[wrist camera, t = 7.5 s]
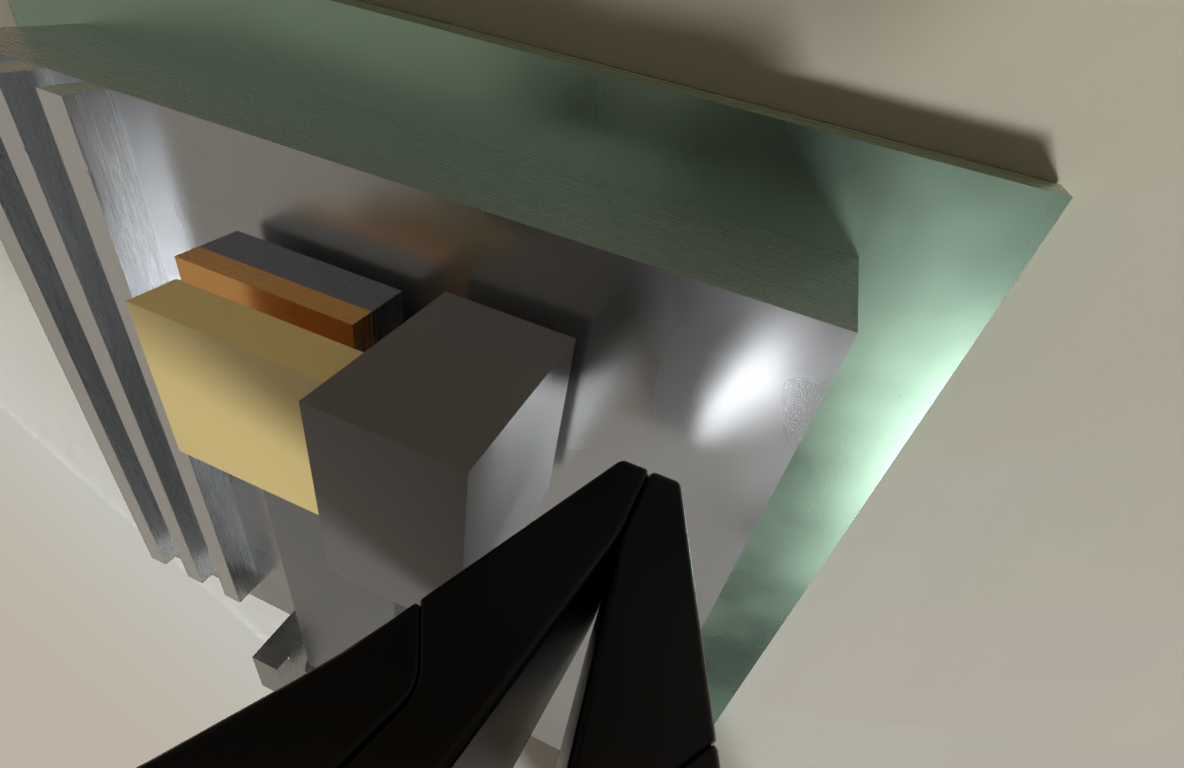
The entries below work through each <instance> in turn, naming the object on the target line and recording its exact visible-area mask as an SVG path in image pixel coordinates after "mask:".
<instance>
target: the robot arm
mask: <svg viewBox="0 0 1184 768" xmlns="http://www.w3.org/2000/svg"><path fill="white" fill-rule="evenodd" d="M597 611H598V613H597ZM596 614H597V616H596ZM595 616H596V619H595V622H594V625H593V629H592V632H591V636H590V639H589V642H588V646H587V650H586V654H585V658H584V661H583V665H582V669H581V673H580V677H579V680H578V684H577V688H576V692H575V695H574V699H573V703H572V707H571V711H570V714H569V718H568V722H567V726H566V730H565V733H564V737H563V741H562V745H561V748H560V752H559V756H558V760H557V764H556V767H555V768H720V763H719V756H718V750H717V748H716V747H715V746H713V744H714V743H715V741H716V737H715V730H714V722H713V715H712V708H711V700H710V693H709V686H708V679H707V671H706V664H705V657H704V650H703V642H702V635H701V628H700V620H699V613H698V606H697V599H696V591H695V584H694V577H693V570H692V562H691V555H690V548H689V541H688V533H687V526H686V519H685V511H684V504H683V497H682V490H681V486H680V484H679V482H677V481H675V480H673V479H670V478H668V477H665V476H663V475H660V474H658V473H652V474H650V476H649V472H648V470H647V469H645V468H643V467H640V466H637V465H635V464H632V463H630V462H627V461H619V462H617V463H616V464H614V465H613V466H612V467H610V468H609V469H607V470H606V471H604V472H603V473H602V474H600V475H599V476H597V477H596V478H594V479H593V480H591V481H590V482H589V483H587V484H586V485H584V486H583V487H581V488H580V489H579V490H577V491H576V492H574V493H573V494H571V495H570V496H568V497H567V498H566V499H564V500H563V501H561V502H560V503H558V504H557V505H556V506H554V507H553V508H551V509H550V510H548V511H547V512H546V513H544V514H543V515H541V516H540V517H538V518H537V519H535V520H534V521H533V522H531V523H530V524H528V525H527V526H525V527H524V528H523V529H521V530H520V531H518V532H517V533H515V534H514V535H513V536H511V537H510V538H508V539H507V540H505V541H504V542H502V543H501V544H500V545H498V546H497V547H495V548H494V549H492V550H491V551H490V552H488V553H487V554H485V555H484V556H482V557H481V558H480V559H478V560H477V561H475V562H474V563H472V564H471V565H469V566H468V567H467V568H465V569H464V570H462V571H461V572H459V573H458V574H457V575H455V576H454V577H452V578H451V579H449V580H448V581H446V582H445V583H444V584H442V585H441V586H439V587H438V588H436V589H435V590H434V591H432V592H431V593H429V594H428V595H426V596H425V597H424V598H422V599H421V601H420V606H419V604H413V605H411V606H410V607H409V608H407V609H406V610H404V611H403V612H401V613H400V614H399V615H397V616H396V617H394V618H393V619H391V620H390V621H389V622H387V623H386V624H384V625H383V626H381V627H380V628H378V629H377V630H375V631H374V632H372V633H371V634H369V635H367V636H366V637H364V638H363V639H361V640H360V641H358V642H357V643H355V644H354V645H352V646H351V647H349V648H348V649H346V650H345V651H343V652H342V653H340V654H338V655H336V656H335V657H333V658H331V659H330V660H328V661H326V662H324V663H323V664H321V665H319V666H318V667H316V668H314V669H312V670H311V671H309V672H307V673H306V674H304V675H302V676H300V677H299V678H297V679H295V680H294V681H292V682H290V683H288V684H287V685H285V686H283V687H281V688H279V689H278V690H276V691H274V692H272V693H270V694H269V695H267V696H265V697H263V698H261V699H260V700H258V701H257V702H254V703H253V704H251V705H249V706H247V707H245V708H243V709H242V710H240V711H238V712H236V713H234V714H233V715H231V716H229V717H227V718H226V719H224V720H222V721H220V722H218V723H216V724H215V725H213V726H211V727H209V728H207V729H206V730H204V731H202V732H200V733H198V734H197V735H195V736H193V737H191V738H189V739H188V740H186V741H184V742H182V743H180V744H179V745H177V746H175V747H173V748H171V749H170V750H168V751H166V752H164V753H162V754H161V755H159V756H157V757H155V758H153V759H152V760H150V761H148V762H146V763H144V764H142V765H140V766H139V767H137V768H513V766H514V765H515V763H516V761H517V759H518V757H519V756H520V754H521V752H522V750H523V748H524V747H525V745H526V743H527V741H528V739H529V738H530V736H531V734H532V732H533V730H534V729H535V727H536V725H537V723H538V721H539V720H540V718H541V716H542V714H543V712H544V711H545V709H546V707H547V705H548V703H549V702H550V700H551V698H552V696H553V694H554V693H555V691H556V689H557V687H558V685H559V684H560V682H561V680H562V678H563V676H564V674H565V673H566V671H567V669H568V667H569V665H570V664H571V662H572V660H573V658H574V656H575V655H576V653H577V651H578V649H579V647H580V646H581V644H582V642H583V640H584V638H585V636H586V635H587V633H588V631H589V629H590V627H591V625H592V623H593V621H594V618H595Z"/></svg>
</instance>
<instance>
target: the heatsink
mask: <svg viewBox="0 0 1184 768" xmlns="http://www.w3.org/2000/svg"><path fill="white" fill-rule="evenodd" d="M8 2H9V5H10V8H11V10H12V13H13V16H14V18H15V21H16V24H17V26H18V27H7V28H0V239H1V241H2V243H3V245H4V247H5V249H6V252H7V254H8V256H9V258H10V260H11V262H12V264H13V266H14V268H15V270H16V273H17V275H18V277H19V279H20V281H21V283H22V285H23V287H24V289H25V291H26V294H27V296H28V298H29V300H30V302H31V304H32V306H33V308H34V310H35V312H36V315H37V317H38V319H39V321H40V323H41V325H42V327H43V329H44V331H45V334H46V336H47V338H48V340H49V342H50V344H51V346H52V348H53V350H54V352H55V355H56V357H57V359H58V361H59V363H60V365H61V367H62V369H63V371H64V373H65V376H66V378H67V380H68V382H69V384H70V386H71V388H72V390H73V392H74V394H75V397H76V399H77V401H78V403H79V405H80V407H81V409H82V411H83V413H84V415H85V418H86V420H87V422H88V424H89V426H90V428H91V430H92V432H93V434H94V436H95V439H96V441H97V443H98V445H99V447H100V449H101V451H102V453H103V455H104V457H105V460H106V462H107V464H108V466H109V468H110V470H111V472H112V474H113V476H114V479H115V481H116V483H117V485H118V487H119V489H120V491H121V493H122V495H123V497H124V500H125V502H126V504H127V506H128V508H129V510H130V512H131V514H132V516H133V518H134V521H135V523H136V525H137V527H138V529H139V531H140V533H141V535H142V537H143V539H144V542H145V544H146V546H147V548H148V550H149V552H150V554H151V556H152V558H154V559H156V560H158V561H160V562H162V563H164V564H167V563H168V562H169V561H171V560H172V559H173V558H174V557H175V556H176V557H178V558H180V559H181V560H182V563H183V565H184V567H185V570H186V572H187V574H188V576H189V577H191V578H193V579H195V580H197V581H199V582H201V583H203V582H204V581H205V580H206V579H207V578H209V577H210V576H211V575H214V576H216V577H218V578H219V579H220V582H221V585H222V587H223V590H224V593H225V595H226V596H228V597H230V598H232V599H234V600H236V601H238V602H241V601H242V600H243V599H244V598H245V597H246V596H247V595H248V594H251V595H253V596H255V597H257V598H259V599H261V600H263V601H265V602H267V603H269V604H271V605H273V606H275V607H277V608H279V609H281V610H283V611H285V612H287V613H289V614H291V615H290V616H289V617H288V618H287V619H286V620H285V622H284V623H283V624H282V625H281V626H280V627H279V628H278V629H277V630H276V632H275V633H274V634H273V635H272V636H271V637H270V638H269V639H268V640H267V641H266V643H265V644H264V645H263V646H262V647H261V648H260V649H259V650H258V651H257V653H256V654H255V655H254V656H253V660H254V663H255V665H256V668H257V671H258V674H259V677H260V679H261V682H262V685H264V686H265V687H267V688H269V689H271V690H273V691H276V690H278V689H279V688H281V687H283V686H285V685H287V684H288V683H290V682H292V681H294V680H295V679H297V678H299V677H300V676H302V675H304V674H305V673H306V672H305V665H306V662H307V660H308V658H307V654H306V650H305V646H304V643H303V639H302V635H301V631H300V627H299V624H298V620H297V616H296V612H295V609H294V605H293V601H292V597H291V593H290V590H289V586H288V582H287V578H286V574H285V571H284V567H283V563H282V559H281V556H280V552H279V548H278V544H277V540H276V537H275V533H274V529H273V525H272V522H271V518H270V514H269V510H268V506H267V503H266V499H265V495H264V491H263V489H261V488H259V487H257V486H255V485H253V484H250V483H248V482H246V481H244V480H242V479H240V478H237V477H235V476H233V475H231V474H229V473H227V472H224V471H222V470H220V469H218V468H216V467H214V466H211V465H209V464H207V463H205V462H203V461H201V460H198V459H196V458H194V457H192V456H190V455H188V454H185V453H183V452H181V451H180V450H179V448H178V445H177V442H176V439H175V437H174V434H173V431H172V428H171V426H170V423H169V420H168V417H167V415H166V412H165V409H164V406H163V404H162V401H161V398H160V395H159V392H158V390H157V387H156V384H155V381H154V379H153V376H152V373H151V370H150V368H149V365H148V362H147V359H146V357H145V354H144V351H143V348H142V346H141V343H140V340H139V337H138V335H137V332H136V329H135V326H134V323H133V321H132V318H131V315H130V312H129V310H128V307H127V304H126V300H129V299H131V298H133V297H136V296H138V295H140V294H143V293H145V292H147V291H149V290H152V289H154V288H156V287H159V286H161V285H163V284H166V283H168V282H170V281H172V280H175V279H178V280H181V277H180V274H179V271H178V267H177V264H176V260H175V257H174V256H176V255H179V254H181V253H184V252H186V251H189V250H191V249H194V248H196V247H198V246H201V245H203V244H206V243H208V242H211V241H213V240H216V239H218V238H220V237H223V236H225V235H228V234H230V233H233V232H235V231H240V232H243V233H245V234H248V235H251V236H254V237H256V238H259V239H262V240H265V241H267V242H270V243H273V244H276V245H278V246H281V247H284V248H287V249H289V250H292V251H295V252H297V253H300V254H303V255H306V256H308V257H311V258H314V259H317V260H319V261H322V262H325V263H328V264H330V265H333V266H336V267H339V268H341V269H344V270H347V271H349V272H352V273H355V274H358V275H360V276H363V277H366V278H369V279H371V280H374V281H377V282H380V283H382V284H385V285H388V286H391V287H393V288H396V289H399V290H401V291H402V293H403V321H404V322H406V321H407V320H408V319H410V318H411V317H412V316H414V315H415V314H416V313H418V312H419V311H420V310H422V309H423V308H424V307H426V306H427V305H428V304H430V303H431V302H432V301H434V300H435V299H436V298H438V297H439V296H440V295H442V294H443V293H444V292H448V293H451V294H454V295H457V296H459V297H462V298H465V299H468V300H470V301H473V302H476V303H479V304H482V305H484V306H487V307H490V308H493V309H495V310H498V311H501V312H504V313H507V314H509V315H512V316H515V317H518V318H520V319H523V320H526V321H529V322H532V323H534V324H537V325H540V326H543V327H545V328H548V329H551V330H554V331H557V332H559V333H562V334H565V335H568V336H570V337H573V338H576V341H575V347H574V352H573V358H572V363H571V369H570V374H569V380H568V385H567V391H566V396H565V402H564V407H563V413H562V418H561V424H560V429H559V435H558V440H557V446H556V451H555V457H554V462H553V468H552V473H551V479H550V484H549V489H548V490H547V492H546V494H545V495H544V497H543V499H542V500H541V502H540V503H539V505H538V507H537V508H536V510H535V511H534V513H533V515H532V516H531V518H530V520H529V521H528V523H527V524H526V526H527V525H528V524H530V523H531V522H533V521H534V520H535V519H537V518H538V517H540V516H541V515H543V514H544V513H546V512H547V511H548V510H550V509H551V508H553V507H554V506H556V505H557V504H558V503H560V502H561V501H563V500H564V499H566V498H567V497H568V496H570V495H571V494H573V493H574V492H576V491H577V490H579V489H580V488H581V487H583V486H584V485H586V484H587V483H589V482H590V481H591V480H593V479H594V478H596V477H597V476H599V475H600V474H602V473H603V472H604V471H606V470H607V469H609V468H610V467H612V466H613V465H614V464H616V463H617V462H619V461H627V462H630V463H632V464H635V465H637V466H640V467H643V468H645V469H647V470H648V472H649V476H650V474H652V473H658V474H660V475H663V476H665V477H668V478H670V479H673V480H675V481H677V482H679V484H680V486H681V490H682V497H683V504H684V511H685V519H686V526H687V533H688V541H689V548H690V555H691V562H692V570H693V577H694V584H695V591H696V599H697V606H698V613H699V620H700V628H701V635H702V642H703V650H704V657H705V664H706V671H707V679H708V686H709V693H710V700H711V708H712V715H713V722H714V724H715V722H716V721H717V719H718V718H719V716H720V715H721V713H722V712H723V710H724V709H725V707H726V706H727V704H728V703H729V702H730V700H731V699H732V697H733V696H734V694H735V693H736V691H737V690H738V688H739V687H740V685H741V684H742V682H743V681H744V680H745V678H746V677H747V675H748V674H749V672H750V671H751V669H752V668H753V666H754V665H755V663H756V662H757V660H758V659H759V657H760V656H761V655H762V653H763V652H764V650H765V649H766V647H767V646H768V644H769V643H770V641H771V640H772V638H773V637H774V635H775V634H776V633H777V631H778V630H779V628H780V627H781V625H782V624H783V622H784V621H785V619H786V618H787V616H788V615H789V613H790V612H791V610H792V609H793V608H794V606H795V605H796V603H797V602H798V600H799V599H800V597H801V596H802V594H803V593H804V591H805V590H806V588H807V587H808V586H809V584H810V583H811V581H812V580H813V578H814V577H815V575H816V574H817V572H818V571H819V569H820V568H821V566H822V565H823V563H824V562H825V561H826V559H827V558H828V556H829V555H830V553H831V552H832V550H833V549H834V547H835V546H836V544H837V543H838V541H839V540H840V538H841V537H842V536H843V534H844V533H845V531H846V530H847V528H848V527H849V525H850V524H851V522H852V521H853V519H854V518H855V516H856V515H857V514H858V512H859V511H860V509H861V508H862V506H863V505H864V503H865V502H866V500H867V499H868V497H869V496H870V494H871V493H872V491H873V490H874V489H875V487H876V486H877V484H878V483H879V481H880V480H881V478H882V477H883V475H884V474H885V472H886V471H887V469H888V468H889V467H890V465H891V464H892V462H893V461H894V459H895V458H896V456H897V455H898V453H899V452H900V450H901V449H902V447H903V446H904V444H905V443H906V442H907V440H908V439H909V437H910V436H911V434H912V433H913V431H914V430H915V428H916V427H917V425H918V424H919V422H920V421H921V420H922V418H923V417H924V415H925V414H926V412H927V411H928V409H929V408H930V406H931V405H932V403H933V402H934V400H935V399H936V397H937V396H938V395H939V393H940V392H941V390H942V389H943V387H944V386H945V384H946V383H947V381H948V380H949V378H950V377H951V375H952V374H953V373H954V371H955V370H956V368H957V367H958V365H959V364H960V362H961V361H962V359H963V358H964V356H965V355H966V353H967V352H968V350H969V349H970V348H971V346H972V345H973V343H974V342H975V340H976V339H977V337H978V336H979V334H980V333H981V331H982V330H983V328H984V327H985V326H986V324H987V323H988V321H989V320H990V318H991V317H992V315H993V314H994V312H995V311H996V309H997V308H998V306H999V305H1000V303H1001V302H1002V301H1003V299H1004V298H1005V296H1006V295H1007V293H1008V292H1009V290H1010V289H1011V287H1012V286H1013V284H1014V283H1015V281H1016V280H1017V278H1018V277H1019V276H1020V274H1021V273H1022V271H1023V270H1024V268H1025V267H1026V265H1027V264H1028V262H1029V261H1030V259H1031V258H1032V256H1033V255H1034V254H1035V252H1036V251H1037V249H1038V248H1039V246H1040V245H1041V243H1042V242H1043V240H1044V239H1045V237H1046V236H1047V234H1048V233H1049V231H1050V230H1051V229H1052V227H1053V226H1054V224H1055V223H1056V221H1057V220H1058V218H1059V217H1060V215H1061V214H1062V212H1063V211H1064V209H1065V208H1066V207H1067V205H1068V204H1069V202H1070V201H1071V199H1072V198H1073V197H1072V196H1071V195H1070V194H1069V193H1068V192H1067V191H1066V190H1065V189H1064V188H1063V187H1062V185H1061V184H1057V183H1053V182H1049V181H1045V180H1042V179H1038V178H1034V177H1030V176H1026V175H1023V174H1019V173H1015V172H1011V171H1007V170H1004V169H1000V168H996V167H992V166H988V165H984V164H981V163H977V162H973V161H969V160H965V159H962V158H958V157H954V156H950V155H946V154H943V153H939V152H935V151H931V150H927V149H923V148H920V147H916V146H912V145H908V144H904V143H901V142H897V141H893V140H889V139H885V138H882V137H878V136H874V135H870V134H866V133H862V132H859V131H855V130H851V129H847V128H843V127H840V126H836V125H832V124H828V123H824V122H821V121H817V120H813V119H809V118H805V117H801V116H798V115H794V114H790V113H786V112H782V111H779V110H775V109H771V108H767V107H763V106H760V105H756V104H752V103H748V102H744V101H740V100H737V99H733V98H729V97H725V96H721V95H718V94H714V93H710V92H706V91H702V90H699V89H695V88H691V87H687V86H683V85H679V84H676V83H672V82H668V81H664V80H660V79H657V78H653V77H649V76H645V75H641V74H638V73H634V72H630V71H626V70H622V69H618V68H615V67H611V66H607V65H603V64H599V63H596V62H592V61H588V60H584V59H580V58H577V57H573V56H569V55H565V54H561V53H557V52H554V51H550V50H546V49H542V48H538V47H535V46H531V45H527V44H523V43H519V42H516V41H512V40H508V39H504V38H500V37H496V36H493V35H489V34H485V33H481V32H477V31H474V30H470V29H466V28H462V27H458V26H455V25H451V24H447V23H443V22H439V21H435V20H432V19H428V18H424V17H420V16H416V15H413V14H409V13H405V12H401V11H397V10H394V9H390V8H386V7H382V6H378V5H374V4H371V3H367V2H363V1H359V0H8ZM597 613H598V611H597ZM596 616H597V614H596ZM596 616H595V618H594V621H593V623H592V625H591V627H590V629H589V631H588V633H587V635H586V636H585V638H584V640H583V642H582V644H581V646H580V647H579V649H578V651H577V653H576V655H575V656H574V658H573V660H572V662H571V664H570V665H569V667H568V669H567V671H566V673H565V674H564V676H563V678H562V680H561V682H560V684H559V685H558V687H557V689H556V691H555V693H554V694H553V696H552V698H551V700H550V702H549V703H548V705H547V707H546V709H545V711H544V712H543V714H542V716H541V718H540V720H539V721H538V723H537V725H536V727H535V729H534V730H533V732H532V734H531V736H532V737H534V738H536V739H538V740H540V741H542V742H544V743H546V744H548V745H550V746H552V747H554V748H556V749H558V750H560V748H561V745H562V741H563V737H564V733H565V730H566V726H567V722H568V718H569V714H570V711H571V707H572V703H573V699H574V695H575V692H576V688H577V684H578V680H579V677H580V673H581V669H582V665H583V661H584V658H585V654H586V650H587V646H588V642H589V639H590V636H591V632H592V629H593V625H594V622H595V619H596Z"/></svg>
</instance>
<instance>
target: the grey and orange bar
mask: <svg viewBox="0 0 1184 768" xmlns="http://www.w3.org/2000/svg"><path fill="white" fill-rule="evenodd" d="M174 257H175V260H176V264H177V267H178V271H179V274H180V277H181V281H183V282H186V283H188V284H191V285H193V286H196V287H199V288H201V289H204V290H206V291H209V292H211V293H214V294H216V295H219V296H221V297H224V298H227V299H229V300H232V301H234V302H237V303H239V304H242V305H244V306H247V307H249V308H252V309H254V310H257V311H260V312H262V313H265V314H267V315H270V316H272V317H275V318H277V319H280V320H282V321H285V322H287V323H290V324H293V325H295V326H298V327H300V328H303V329H305V330H308V331H310V332H313V333H315V334H318V335H320V336H323V337H326V338H328V339H331V340H333V341H336V342H338V343H341V344H343V345H346V346H348V347H351V348H353V349H356V350H359V351H361V352H365V351H367V350H368V349H369V348H371V347H372V346H373V345H375V344H376V343H377V342H379V341H380V340H381V339H383V338H384V337H385V336H387V335H388V334H390V333H391V332H392V331H394V330H395V329H396V328H398V327H399V326H400V325H402V324H403V323H404V321H403V293H402V291H401V290H399V289H396V288H393V287H391V286H388V285H385V284H382V283H380V282H377V281H374V280H371V279H369V278H366V277H363V276H360V275H358V274H355V273H352V272H349V271H347V270H344V269H341V268H339V267H336V266H333V265H330V264H328V263H325V262H322V261H319V260H317V259H314V258H311V257H308V256H306V255H303V254H300V253H297V252H295V251H292V250H289V249H287V248H284V247H281V246H278V245H276V244H273V243H270V242H267V241H265V240H262V239H259V238H256V237H254V236H251V235H248V234H245V233H243V232H240V231H235V232H233V233H230V234H228V235H225V236H223V237H220V238H218V239H216V240H213V241H211V242H208V243H206V244H203V245H201V246H198V247H196V248H194V249H191V250H189V251H186V252H184V253H181V254H179V255H176V256H174ZM263 491H264V495H265V499H266V503H267V506H268V510H269V514H270V518H271V522H272V525H273V529H274V533H275V537H276V540H277V544H278V548H279V552H280V556H281V559H282V563H283V567H284V571H285V574H286V578H287V582H288V586H289V590H290V593H291V597H292V601H293V605H294V609H295V612H296V616H297V620H298V624H299V627H300V631H301V635H302V639H303V643H304V646H305V650H306V654H307V658H308V660H307V662H306V665H305V672H306V673H307V672H309V671H311V670H312V669H314V668H316V667H318V666H319V665H321V664H323V663H324V662H326V661H328V660H330V659H331V658H333V657H335V656H336V655H338V654H340V653H342V652H343V651H345V650H346V649H348V648H349V647H351V646H352V645H354V644H355V643H357V642H358V641H360V640H361V639H363V638H364V637H366V636H367V635H369V634H371V633H372V632H374V631H375V630H377V629H378V628H380V627H381V626H383V625H384V624H386V623H387V622H389V621H390V620H391V619H393V618H394V617H396V616H397V615H399V614H400V613H401V612H403V611H404V610H406V609H407V608H406V607H403V606H401V605H399V604H397V603H395V602H393V601H391V600H389V599H387V598H385V597H383V596H381V595H379V594H377V593H374V592H372V591H370V590H368V589H366V588H364V587H362V586H360V585H358V584H356V583H354V582H352V581H350V580H347V579H345V578H343V577H341V576H339V575H337V574H335V573H333V572H331V571H329V570H328V564H327V558H326V553H325V547H324V541H323V536H322V530H321V525H320V519H319V515H317V514H315V513H313V512H311V511H309V510H307V509H304V508H302V507H300V506H298V505H296V504H294V503H291V502H289V501H287V500H285V499H283V498H281V497H278V496H276V495H274V494H272V493H270V492H268V491H265V490H263Z"/></svg>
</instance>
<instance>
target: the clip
mask: <svg viewBox="0 0 1184 768" xmlns="http://www.w3.org/2000/svg"><path fill="white" fill-rule="evenodd" d="M126 304H127V307H128V310H129V312H130V315H131V318H132V321H133V323H134V326H135V329H136V332H137V335H138V337H139V340H140V343H141V346H142V348H143V351H144V354H145V357H146V359H147V362H148V365H149V368H150V370H151V373H152V376H153V379H154V381H155V384H156V387H157V390H158V392H159V395H160V398H161V401H162V404H163V406H164V409H165V412H166V415H167V417H168V420H169V423H170V426H171V428H172V431H173V434H174V437H175V439H176V442H177V445H178V448H179V450H180V451H181V452H183V453H185V454H188V455H190V456H192V457H194V458H196V459H198V460H201V461H203V462H205V463H207V464H209V465H211V466H214V467H216V468H218V469H220V470H222V471H224V472H227V473H229V474H231V475H233V476H235V477H237V478H240V479H242V480H244V481H246V482H248V483H250V484H253V485H255V486H257V487H259V488H261V489H263V490H265V491H268V492H270V493H272V494H274V495H276V496H278V497H281V498H283V499H285V500H287V501H289V502H291V503H294V504H296V505H298V506H300V507H302V508H304V509H307V510H309V511H311V512H313V513H315V514H317V515H319V519H320V525H321V530H322V536H323V541H324V547H325V553H326V558H327V564H328V570H329V571H331V572H333V573H335V574H337V575H339V576H341V577H343V578H345V579H347V580H350V581H352V582H354V583H356V584H358V585H360V586H362V587H364V588H366V589H368V590H370V591H372V592H374V593H377V594H379V595H381V596H383V597H385V598H387V599H389V600H391V601H393V602H395V603H397V604H399V605H401V606H403V607H406V608H409V607H410V606H411V605H413V604H419V606H420V601H421V599H422V598H424V597H425V596H426V595H428V594H429V593H431V592H432V591H434V590H435V589H436V588H438V587H439V586H441V585H442V584H444V583H445V582H446V581H448V580H449V579H451V578H452V577H454V576H455V575H457V574H458V573H459V572H461V571H462V570H464V569H465V568H467V567H468V566H469V565H471V564H472V563H474V562H475V561H477V560H478V559H480V558H481V557H482V556H484V555H485V554H487V553H488V552H490V551H491V550H492V549H494V548H495V547H497V546H498V545H500V544H501V543H502V542H504V541H505V540H507V539H508V538H510V537H511V536H513V535H514V534H515V533H517V532H518V531H520V530H521V529H523V528H524V527H525V526H526V524H527V523H528V521H529V520H530V518H531V516H532V515H533V513H534V511H535V510H536V508H537V507H538V505H539V503H540V502H541V500H542V499H543V497H544V495H545V494H546V492H547V490H548V489H549V484H550V479H551V473H552V468H553V462H554V457H555V451H556V446H557V440H558V435H559V429H560V424H561V418H562V413H563V407H564V402H565V396H566V391H567V385H568V380H569V374H570V369H571V363H572V358H573V352H574V347H575V341H576V338H573V337H570V336H568V335H565V334H562V333H559V332H557V331H554V330H551V329H548V328H545V327H543V326H540V325H537V324H534V323H532V322H529V321H526V320H523V319H520V318H518V317H515V316H512V315H509V314H507V313H504V312H501V311H498V310H495V309H493V308H490V307H487V306H484V305H482V304H479V303H476V302H473V301H470V300H468V299H465V298H462V297H459V296H457V295H454V294H451V293H448V292H444V293H443V294H442V295H440V296H439V297H438V298H436V299H435V300H434V301H432V302H431V303H430V304H428V305H427V306H426V307H424V308H423V309H422V310H420V311H419V312H418V313H416V314H415V315H414V316H412V317H411V318H410V319H408V320H407V321H406V322H404V323H403V324H402V325H400V326H399V327H398V328H396V329H395V330H394V331H392V332H391V333H390V334H388V335H387V336H385V337H384V338H383V339H381V340H380V341H379V342H377V343H376V344H375V345H373V346H372V347H371V348H369V349H368V350H367V351H365V352H361V351H359V350H356V349H353V348H351V347H348V346H346V345H343V344H341V343H338V342H336V341H333V340H331V339H328V338H326V337H323V336H320V335H318V334H315V333H313V332H310V331H308V330H305V329H303V328H300V327H298V326H295V325H293V324H290V323H287V322H285V321H282V320H280V319H277V318H275V317H272V316H270V315H267V314H265V313H262V312H260V311H257V310H254V309H252V308H249V307H247V306H244V305H242V304H239V303H237V302H234V301H232V300H229V299H227V298H224V297H221V296H219V295H216V294H214V293H211V292H209V291H206V290H204V289H201V288H199V287H196V286H193V285H191V284H188V283H186V282H183V281H181V280H178V279H175V280H172V281H170V282H168V283H166V284H163V285H161V286H159V287H156V288H154V289H152V290H149V291H147V292H145V293H143V294H140V295H138V296H136V297H133V298H131V299H129V300H126Z"/></svg>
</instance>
